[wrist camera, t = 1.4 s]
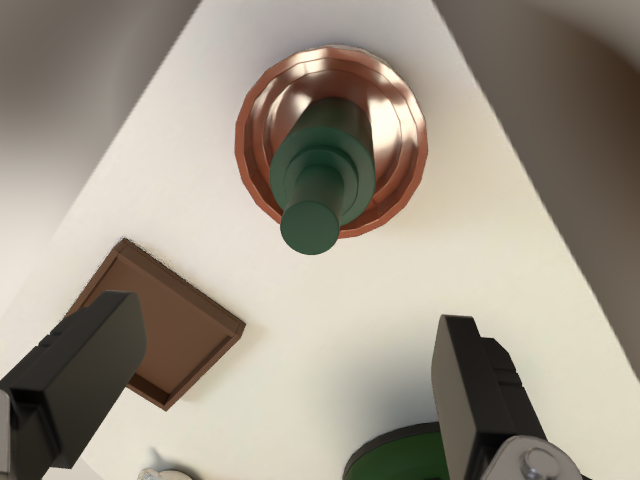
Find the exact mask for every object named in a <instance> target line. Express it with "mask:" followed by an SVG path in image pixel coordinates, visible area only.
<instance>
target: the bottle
mask: <svg viewBox="0 0 640 480" xmlns="http://www.w3.org/2000/svg"><path fill="white" fill-rule="evenodd" d="M269 178H270V186H271V190H272V193H273V196H274V198H275V200H276V202H277V203H278V205H279V206H280V208H281V209H282V210H283V211H284V213H283V216H282V218H281V222H280V230H281V234H282V237H283V239H284V241H285V242H286V243H287V244H288V246H289V247H291V248H292V249H293V250H295V251H297V252H299V253H302V254H306V255H317V254H321V253H323V252H325V251H327V250H329V249H330V248H331V247H332V246H333V245H334V244H335V243H336V241H337V239H338V237H339V232H340V226H343V225H345V224H348V223H349V222H351V221H353V220H354V219H356V218H357V217H358V216H359V215H361V214H362V213H363V212H364V210H365V209H366V208H367V206H368V205H369V203H370V202H371V199H372V197H373V194H374V191H375V186H376V170H375V159H374V148H373V137H372V128H371V124H370V121H369V119H368V117H367V115H366V114H365V112H364V111H363V110H362V109H361V108H360V107H359V106H358V105H357V104H355V103H354V102H352V101H350V100H348V99H345V98H341V97H326V98H322V99H319V100H317V101H315V102H313V103H312V104H310V105H309V106H308V107H307V108H306V109H305V110H304V111H303V113H302V114H301V116H300V117H299V119H298V120H297V121H296V123H295V124H294V126H293V127H292V129H291V130H290V132H289V133H288V135H287V136H286V138H285V139H284V141H283V142H282V143H281V145H280V146H279V148H278V149H277V151H276V153H275V155H274V157H273V159H272V162H271V166H270V176H269Z"/></svg>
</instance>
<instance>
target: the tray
mask: <svg viewBox="0 0 640 480" xmlns="http://www.w3.org/2000/svg"><path fill="white" fill-rule="evenodd" d="M105 290H116V291H130V292H136V293H137V294H138V296H139V299H140V303H141V308H142V314H143V319H144V324H145V329H146V334H147V349H146V353H145V356H144V359H143V361H142V362H141V364H140V365H139V367H138V369H137V370H136V372H135V373H134V375H133V376H132V378H131V379H130V381H129V382H128V384H127V385H126V387H127V388H129V389H130V390H132V391H133V392H135V393H137V394H138V395H140V396H142V397H143V398H145V399H146V400H148V401H150V402H151V403H153V404H154V405H156V406H158V407H159V408H162V410H164V411H167V410H168V409H169V408H170V407H171V406H172V405H173V404H174V403H176V402H177V401H178V400H179V399H180V398H181V397H182V396H183V395H184V394H185V393H186V392H187V391H188V390H189V389H190V388H191V387H192V386H193V385H194V384H195V383H196V382H197V381H198V380H199V379H200V378H201V377H202V376H203V375H204V374H205V373H206V372H207V371H208V370H209V369H210V368H211V367H212V366H213V365H214V364H215V363H216V362H217V361H218V360H219V359H220V358H221V357H222V356H223V355H224V354H225V353H226V352H227V351H228V350H229V349H230V348H231V347H232V346H233V345H234V344H235V343H236V342H237V341H238V340H239V339H240V338H241V336H242V334H243V331H244V328H245V326H246V324H245V323H244V322H242V321H241V320H239V319H238V318H237V317H235V316H234V315H232V314H231V313H230V312H228V311H227V310H225V309H224V308H223V307H221V306H220V305H218V304H217V303H215V302H214V301H213V300H211V299H210V298H208V297H207V296H206V295H204V294H203V293H201V292H200V291H199V290H197V289H196V288H194V287H193V286H192V285H190V284H189V283H187V282H186V281H184V280H183V279H182V278H180V277H179V276H177V275H176V274H175V273H173V272H172V271H170V270H169V269H168V268H166V267H165V266H163V265H162V264H160V263H159V262H158V261H156V260H155V259H153V258H152V257H151V256H149V255H148V254H146V253H145V252H144V251H142V250H141V249H139V248H138V247H137V246H135V245H134V244H132V243H131V242H129V241H128V240H127V239H125V238H124V239H123V240H122V241H121V242H120V243H118V244H117V245H116V246H115V247H114V248H113V249H112V250H111V252H110V253H109V255H108V256H107V257H106V259H105V260H104V262H103V263H102V265H101V266H100V267H99V269H98V270H97V272H96V273H95V274H94V276H93V277H92V279H91V280H90V282H89V283H88V284H87V286H86V287H85V289H84V290H83V291H82V293H81V294H80V296H79V297H78V298H77V300H76V301H75V303H74V304H73V306H72V307H71V308H70V310H69V311H68V313H67V314H66V315H65V317H64V318H66V317H67V316H69V315H71V314H73V313H74V312H76V311H78V310H79V309H81V308H83V307H88V306H89V305H90V304H91V303H92V302H93V301H94V300H95V299H96V298H97V297H98V296H99V295H100V294H101V293H102V292H103V291H105ZM64 318H63V319H64Z"/></svg>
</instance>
